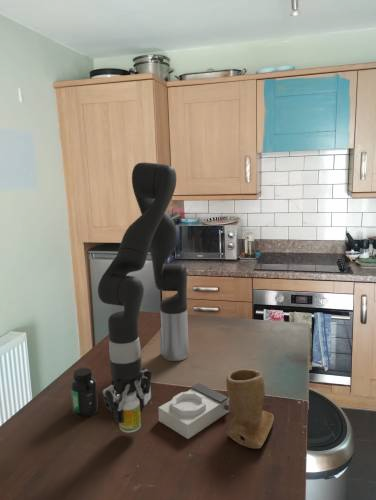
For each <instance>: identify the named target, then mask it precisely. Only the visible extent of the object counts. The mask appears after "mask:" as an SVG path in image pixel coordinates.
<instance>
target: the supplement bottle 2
mask: <svg viewBox="0 0 376 500" xmlns="http://www.w3.org/2000/svg"><path fill="white" fill-rule="evenodd" d="M119 395H120V396H121V394H119ZM122 410H123V423H121V424H120V423H119V422H118V423H119V424H118V425H119V429H120V431H122V432H124V433H128V434H129V433H134V432H136V431H138V430H140V428H141V425H142V423H141V422H142V421H141V412H140V401H139V399H138V397H136V390H135V391H134V392H131V393H129V394H128V395H127V396H126V400H125V402H123V406H122Z"/></svg>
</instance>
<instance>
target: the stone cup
mask: <svg viewBox="0 0 376 500" xmlns="http://www.w3.org/2000/svg"><path fill="white" fill-rule="evenodd" d="M225 384H226V392H227V397H228V398H229V402H230V404H231V406H232V407H231V408H232V409H233V413H234V417H233V419H232V421H231V423H230V424H229V427H228V430H226V435H227V436H228V437H229V438H231V439H232V440H233V441H234V442H236V443H237V444H239V445H241V446H244V447H246V448H249V449H255V450H257V449H261V448H262V447H263V445H264V443H265V441H266V439H267V438H268V435H269V433H270V432H271V429H272V427H273V424H274V420H275V419H274V418H275V417H274V414H273V413H271V412H269V411H266V410H263V407H264V406H263V405H264V400H265V394H266V391H265V381H264V377H263V375H262V373H261V372H260V371H259V370H256V369H253V368H239V369H235V370H233V371H231V372H229V373H228V375H227V376H226V383H225Z"/></svg>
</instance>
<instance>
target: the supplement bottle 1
mask: <svg viewBox="0 0 376 500" xmlns="http://www.w3.org/2000/svg"><path fill="white" fill-rule="evenodd" d="M72 376H73V380H72V381H71V384H70V393H71V395H70V396H71V402H72V403H71V404H72V413H73V415H74V416H75V417H78V418H89V417H92V416H94V415H95V414H96V413H97V412H98V409H99V400H98V387H97V380H96V379H95V378H94V377H93V374H92V369H91V368H89V367H79V368H78V369H75V370H74V371H73V375H72Z"/></svg>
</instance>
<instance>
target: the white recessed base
mask: <svg viewBox="0 0 376 500" xmlns="http://www.w3.org/2000/svg"><path fill="white" fill-rule="evenodd" d="M157 409H158V421H159V422H160V423H162V424H163V425H164V426H166V427H168V428H170V429H171V430H173V431H174V432H176V433H177V434H178V435H181V436H182V437H184V438H186V439H187V440H189V439H190V438H193V436H195V435H197V434H199V432H201V431H203V430H204V429H205V428H207V427H208V426H210V425H211V424H213V423H214V422H216V421H218V420H219V419H221V418H222V417H223V416H225V415H226V414H228V413H229V412H230V409H231V405H230V399H229V396H228V395H227V396H226V395H225V394H223V393H220V392H219V391H216V390H214V389H212V388H210V387H208V386H206V385H204V384H202V383H200V382H197V383H196V384H194V385H192V386H191V389H188V390H187V391H182V392H180V393H178V394H175V395H174V396H173V397H172V399H171V400H170V401H167V402H166V403H164V404H161V405H160V406H158V408H157Z"/></svg>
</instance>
